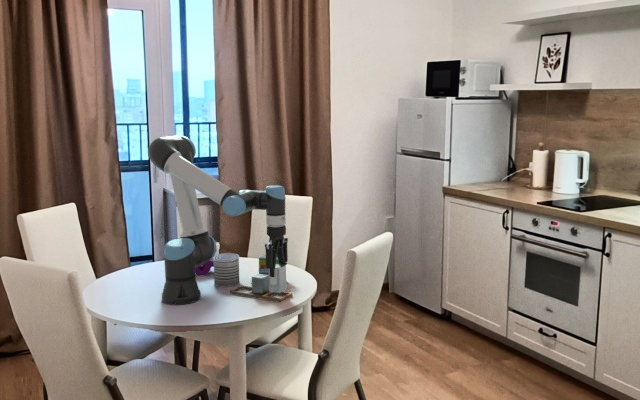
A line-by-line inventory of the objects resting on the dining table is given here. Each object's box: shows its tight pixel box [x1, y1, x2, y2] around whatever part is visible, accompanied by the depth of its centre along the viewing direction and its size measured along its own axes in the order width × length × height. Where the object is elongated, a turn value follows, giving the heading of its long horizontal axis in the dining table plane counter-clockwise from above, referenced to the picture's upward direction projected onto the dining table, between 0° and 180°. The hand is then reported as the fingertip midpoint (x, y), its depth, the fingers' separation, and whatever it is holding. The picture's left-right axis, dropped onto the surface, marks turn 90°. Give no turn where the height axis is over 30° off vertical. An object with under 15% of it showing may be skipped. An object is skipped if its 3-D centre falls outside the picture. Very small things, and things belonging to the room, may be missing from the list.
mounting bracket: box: [195, 258, 214, 277], centre depth 282 cm, size 10×8×18 cm
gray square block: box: [251, 273, 269, 296], centre depth 248 cm, size 5×5×8 cm
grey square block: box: [268, 264, 287, 293], centre depth 243 cm, size 5×5×10 cm
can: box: [213, 252, 240, 288], centre depth 265 cm, size 11×11×12 cm
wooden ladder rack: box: [229, 284, 293, 303], centre depth 248 cm, size 9×25×1 cm, turn 62°
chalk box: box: [258, 249, 279, 275], centre depth 265 cm, size 9×9×15 cm
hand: (277, 282), depth 244 cm, fingers closed on grey square block, 5 cm apart
